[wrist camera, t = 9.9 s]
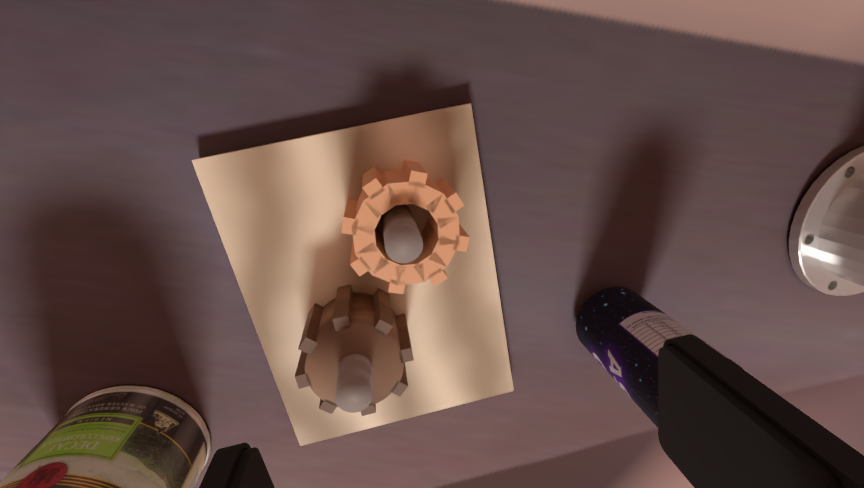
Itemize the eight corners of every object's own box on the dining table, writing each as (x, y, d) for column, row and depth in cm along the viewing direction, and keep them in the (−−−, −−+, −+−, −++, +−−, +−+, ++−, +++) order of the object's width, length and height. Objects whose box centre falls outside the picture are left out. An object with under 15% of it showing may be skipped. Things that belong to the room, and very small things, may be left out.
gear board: (466, 103, 27) (507, 103, 19) (508, 381, 34) (551, 463, 26) (199, 158, 26) (124, 181, 18) (302, 434, 33) (282, 537, 25)
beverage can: (557, 312, 33) (655, 420, 22) (616, 268, 32) (748, 354, 21) (592, 357, 35) (699, 478, 24) (648, 316, 34) (785, 419, 23)
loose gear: (415, 137, 26) (424, 144, 22) (473, 227, 28) (492, 248, 24) (322, 202, 26) (314, 220, 22) (388, 284, 29) (391, 315, 25)
